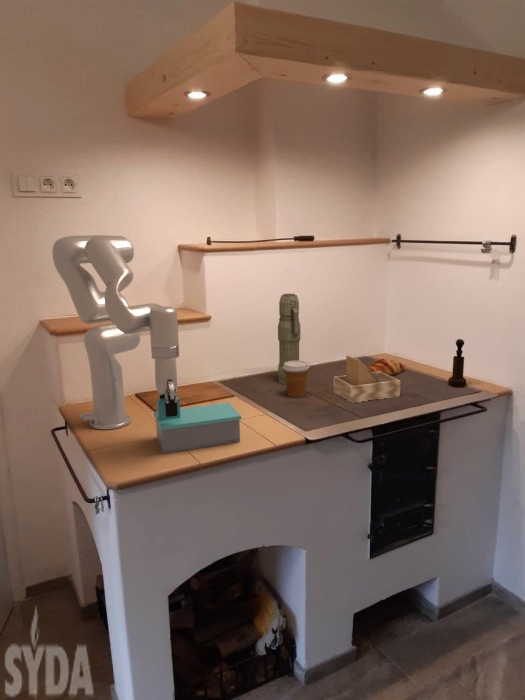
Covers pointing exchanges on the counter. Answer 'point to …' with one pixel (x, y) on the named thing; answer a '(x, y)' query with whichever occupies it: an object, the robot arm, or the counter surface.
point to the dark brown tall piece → (458, 367)
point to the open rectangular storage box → (368, 388)
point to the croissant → (387, 366)
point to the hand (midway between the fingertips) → (168, 410)
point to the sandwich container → (358, 373)
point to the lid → (194, 415)
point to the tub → (198, 436)
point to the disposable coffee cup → (296, 377)
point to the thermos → (288, 332)
